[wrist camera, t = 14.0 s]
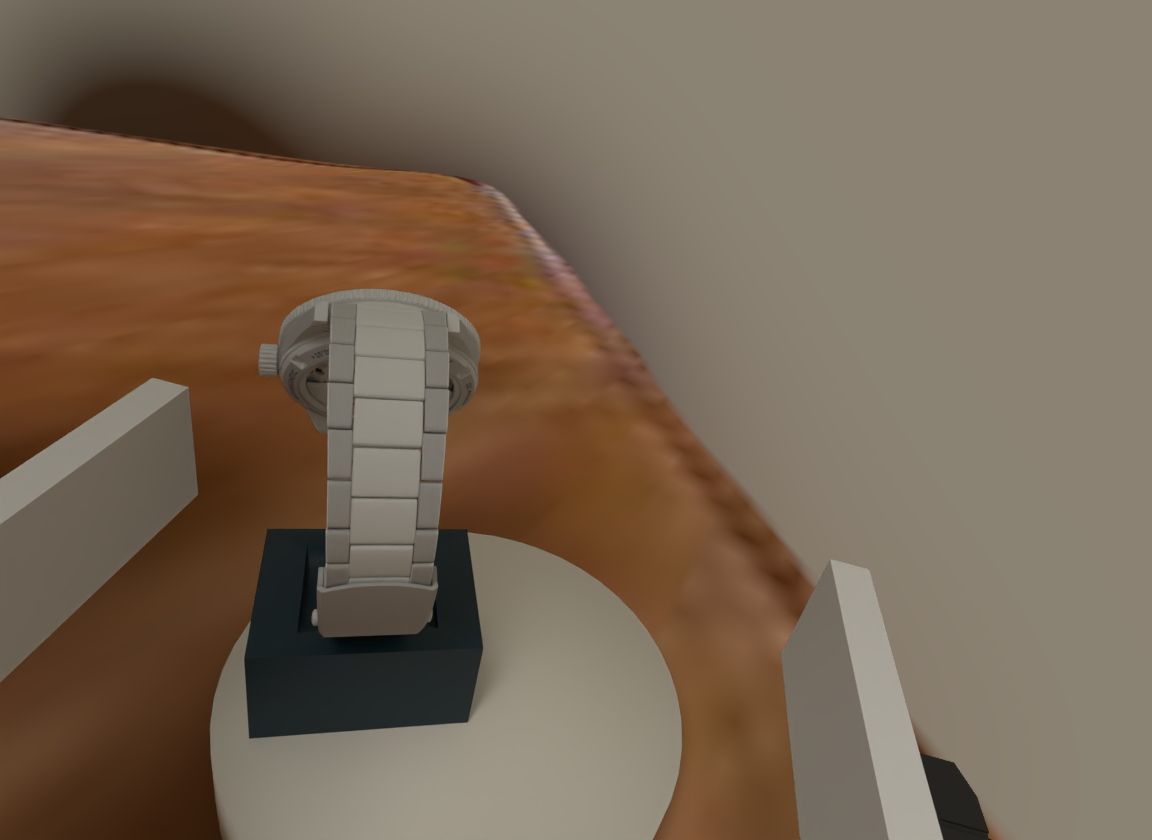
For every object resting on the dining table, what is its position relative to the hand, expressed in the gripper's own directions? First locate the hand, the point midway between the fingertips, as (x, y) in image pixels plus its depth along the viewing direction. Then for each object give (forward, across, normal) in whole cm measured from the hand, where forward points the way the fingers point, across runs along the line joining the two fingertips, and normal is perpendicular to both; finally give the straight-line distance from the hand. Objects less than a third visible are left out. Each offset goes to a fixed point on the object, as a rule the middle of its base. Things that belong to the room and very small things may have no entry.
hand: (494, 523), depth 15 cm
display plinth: (+2, 0, -11) cm, 11 cm away
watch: (+2, -3, -8) cm, 9 cm away
